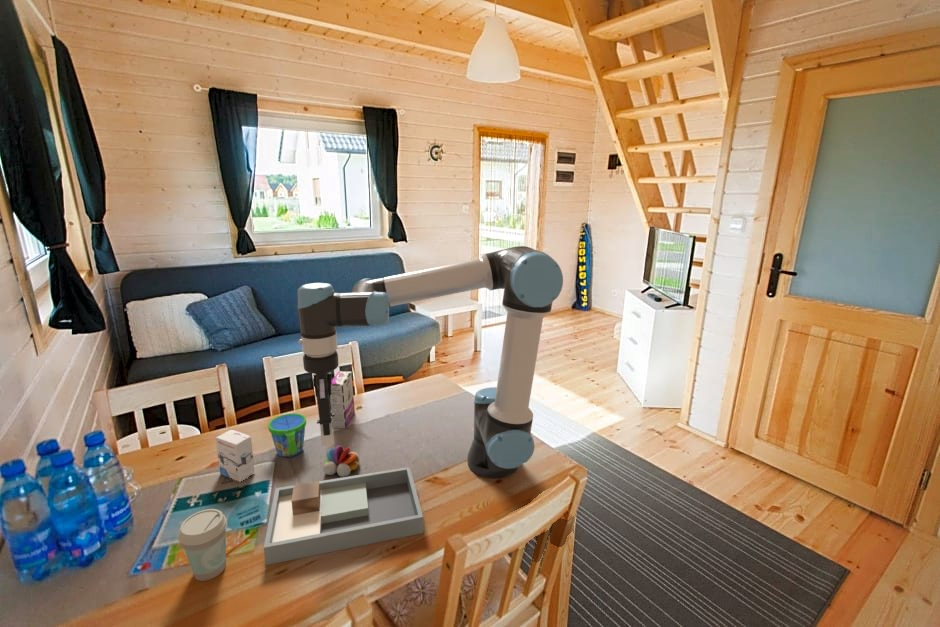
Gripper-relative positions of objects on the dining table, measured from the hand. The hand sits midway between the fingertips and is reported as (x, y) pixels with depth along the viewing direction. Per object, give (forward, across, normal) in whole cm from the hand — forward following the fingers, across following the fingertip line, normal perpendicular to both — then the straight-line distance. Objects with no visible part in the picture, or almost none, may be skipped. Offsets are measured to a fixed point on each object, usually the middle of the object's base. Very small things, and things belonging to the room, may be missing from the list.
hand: (328, 444), depth 105 cm
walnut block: (+16, 0, -6) cm, 17 cm away
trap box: (+18, +4, +3) cm, 19 cm away
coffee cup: (+19, +12, -25) cm, 33 cm away
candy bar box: (+19, -45, +3) cm, 49 cm away
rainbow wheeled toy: (+19, -16, +2) cm, 25 cm away
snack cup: (+19, -30, -13) cm, 37 cm away
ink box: (+19, -22, -26) cm, 39 cm away
